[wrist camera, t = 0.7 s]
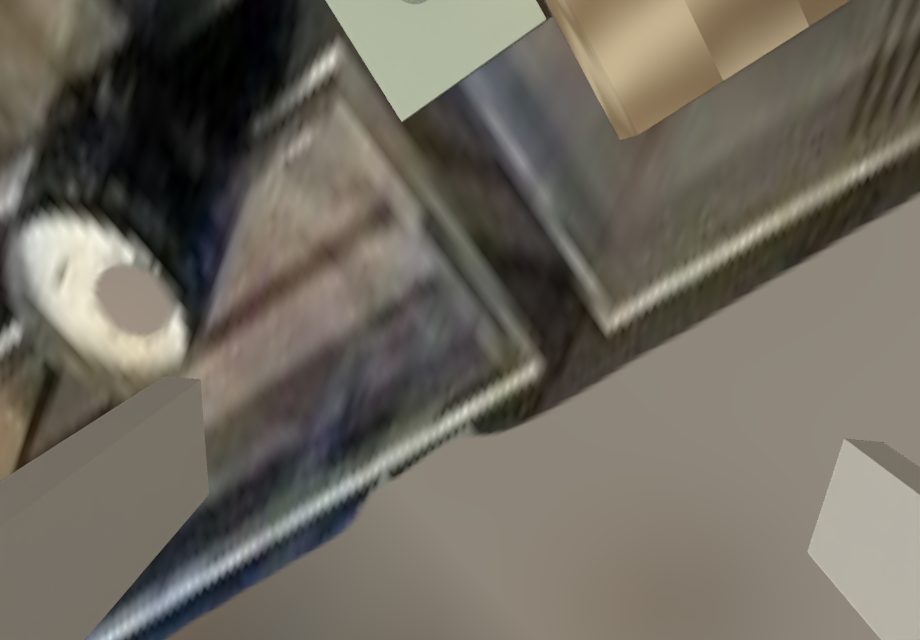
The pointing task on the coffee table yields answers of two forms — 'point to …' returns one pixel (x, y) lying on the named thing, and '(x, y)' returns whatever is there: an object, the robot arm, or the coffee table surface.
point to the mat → (431, 42)
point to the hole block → (672, 48)
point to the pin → (414, 1)
